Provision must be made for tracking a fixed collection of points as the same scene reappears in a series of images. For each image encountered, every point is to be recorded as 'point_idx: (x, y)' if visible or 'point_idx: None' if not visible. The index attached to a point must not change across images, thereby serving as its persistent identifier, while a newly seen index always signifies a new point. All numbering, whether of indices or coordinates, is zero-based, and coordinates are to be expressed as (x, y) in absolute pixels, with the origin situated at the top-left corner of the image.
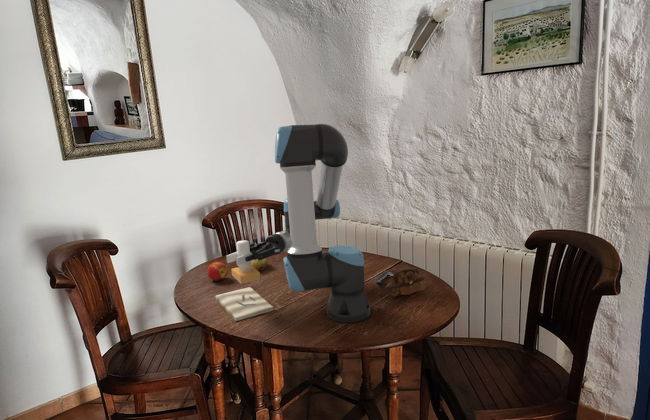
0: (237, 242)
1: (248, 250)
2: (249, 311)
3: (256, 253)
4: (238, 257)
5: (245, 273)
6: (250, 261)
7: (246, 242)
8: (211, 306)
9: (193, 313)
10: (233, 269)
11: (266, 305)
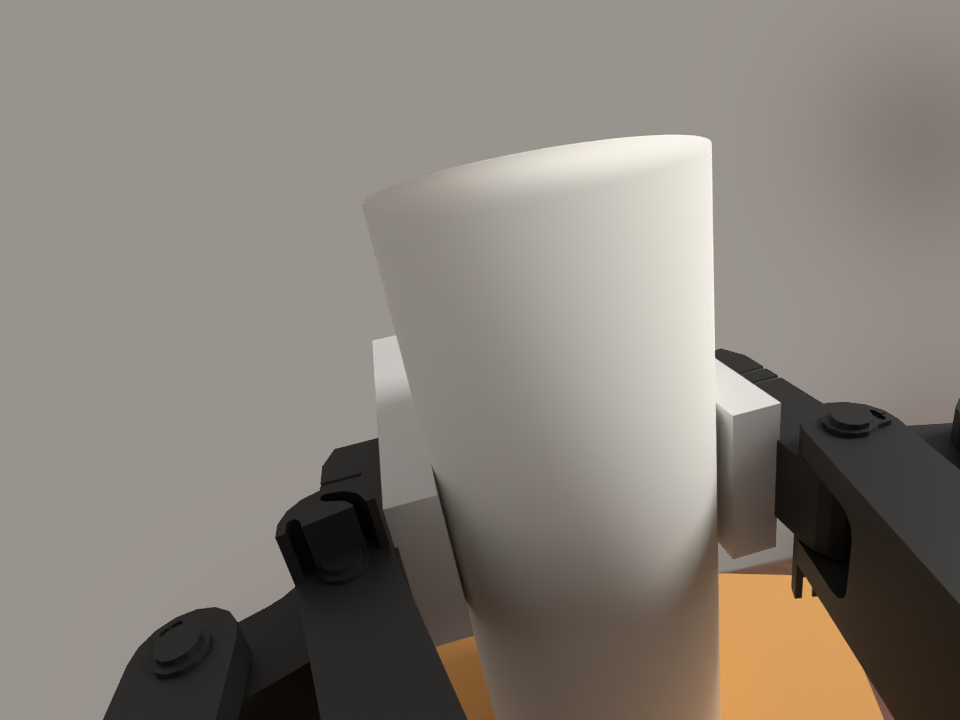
0: (601, 143)
1: (420, 413)
2: None
3: (308, 631)
4: (386, 348)
5: (474, 649)
6: (499, 661)
7: (417, 197)
8: (880, 701)
9: (787, 574)
10: (771, 588)
11: None
